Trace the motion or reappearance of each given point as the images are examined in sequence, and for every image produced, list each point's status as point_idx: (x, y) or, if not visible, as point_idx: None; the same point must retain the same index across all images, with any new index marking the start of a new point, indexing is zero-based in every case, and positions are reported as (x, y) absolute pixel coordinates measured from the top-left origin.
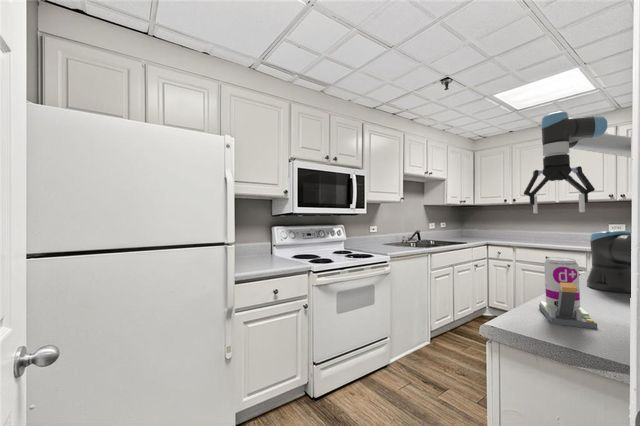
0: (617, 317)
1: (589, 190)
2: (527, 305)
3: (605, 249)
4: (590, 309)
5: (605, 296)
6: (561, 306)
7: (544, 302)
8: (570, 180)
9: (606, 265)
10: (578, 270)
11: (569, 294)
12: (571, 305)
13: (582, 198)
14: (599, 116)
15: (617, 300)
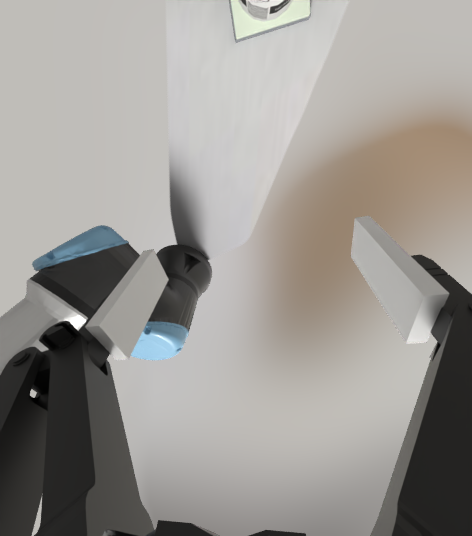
0: (175, 45)
1: (46, 359)
2: (329, 38)
3: (166, 294)
4: (213, 89)
5: (191, 212)
6: None
7: (301, 2)
8: (83, 486)
9: (176, 278)
10: None
11: None
12: None
13: (113, 299)
14: None
15: (176, 192)
